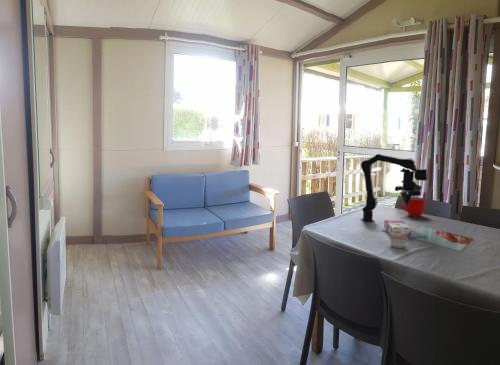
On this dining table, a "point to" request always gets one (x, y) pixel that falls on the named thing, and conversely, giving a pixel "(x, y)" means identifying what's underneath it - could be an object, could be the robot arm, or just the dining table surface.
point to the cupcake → (398, 238)
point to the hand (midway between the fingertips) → (406, 204)
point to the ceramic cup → (414, 207)
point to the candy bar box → (397, 226)
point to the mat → (413, 234)
